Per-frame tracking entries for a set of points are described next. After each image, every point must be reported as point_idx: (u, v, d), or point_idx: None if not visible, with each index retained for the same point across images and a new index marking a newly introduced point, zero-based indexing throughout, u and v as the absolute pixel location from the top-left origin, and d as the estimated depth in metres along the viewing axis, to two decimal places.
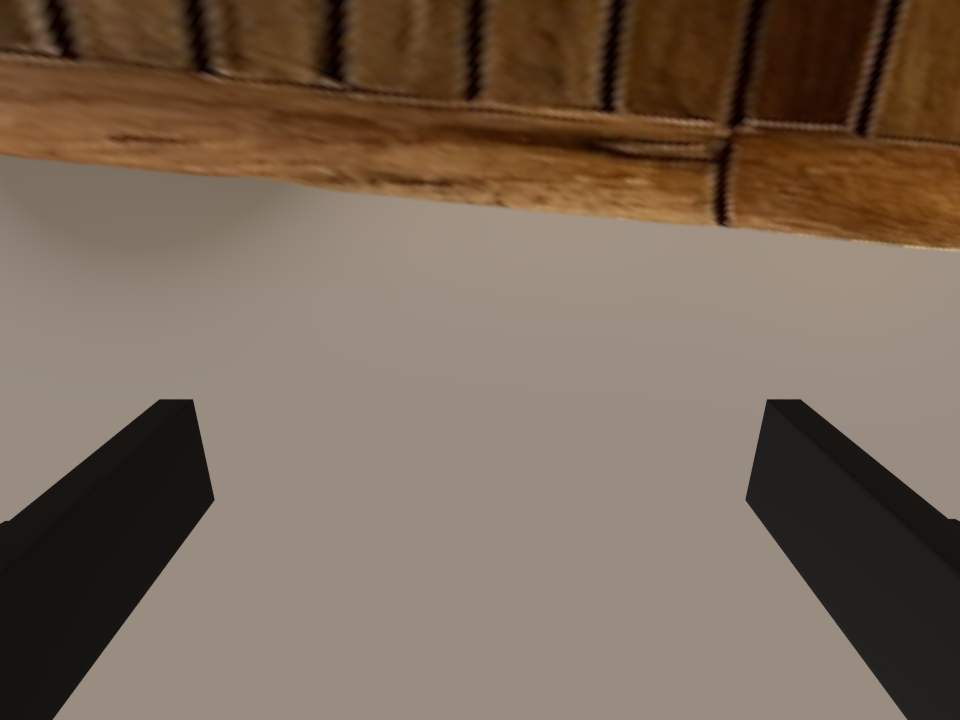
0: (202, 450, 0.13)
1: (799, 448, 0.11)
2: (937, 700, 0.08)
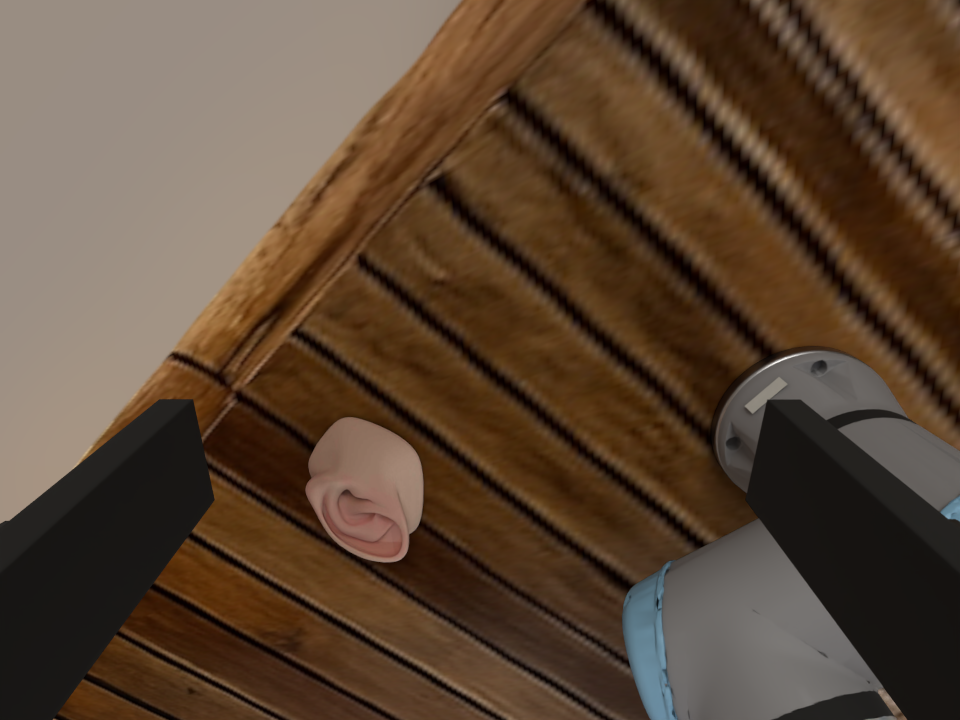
0: (201, 450, 0.13)
1: (799, 448, 0.11)
2: (937, 700, 0.08)
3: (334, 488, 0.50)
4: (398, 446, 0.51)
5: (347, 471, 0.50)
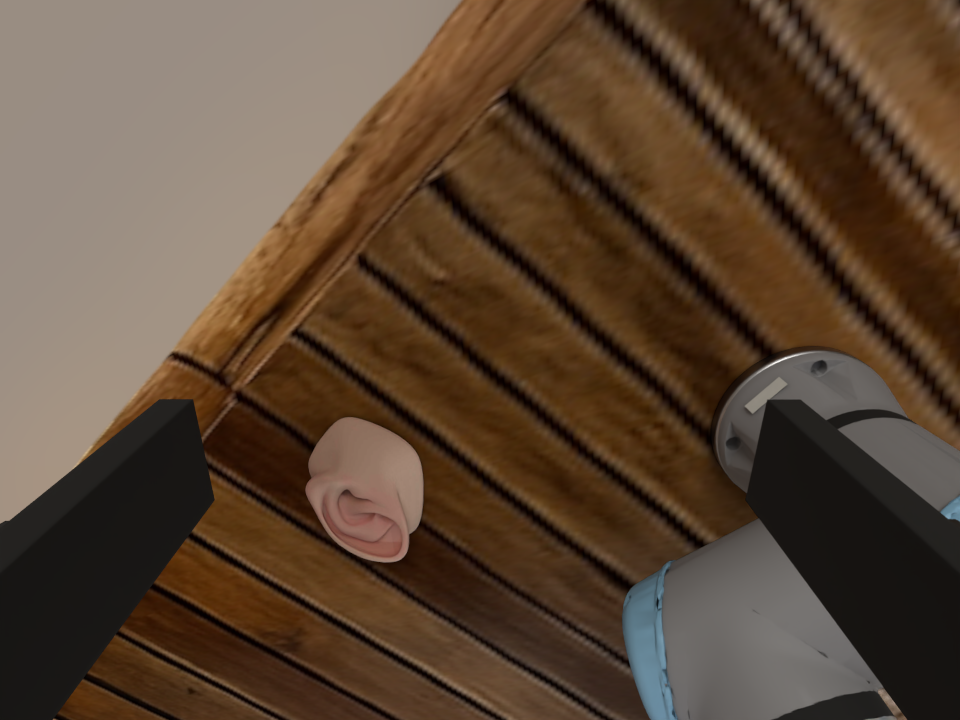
0: (201, 450, 0.13)
1: (799, 448, 0.11)
2: (937, 700, 0.08)
3: (334, 488, 0.50)
4: (398, 446, 0.51)
5: (347, 471, 0.50)
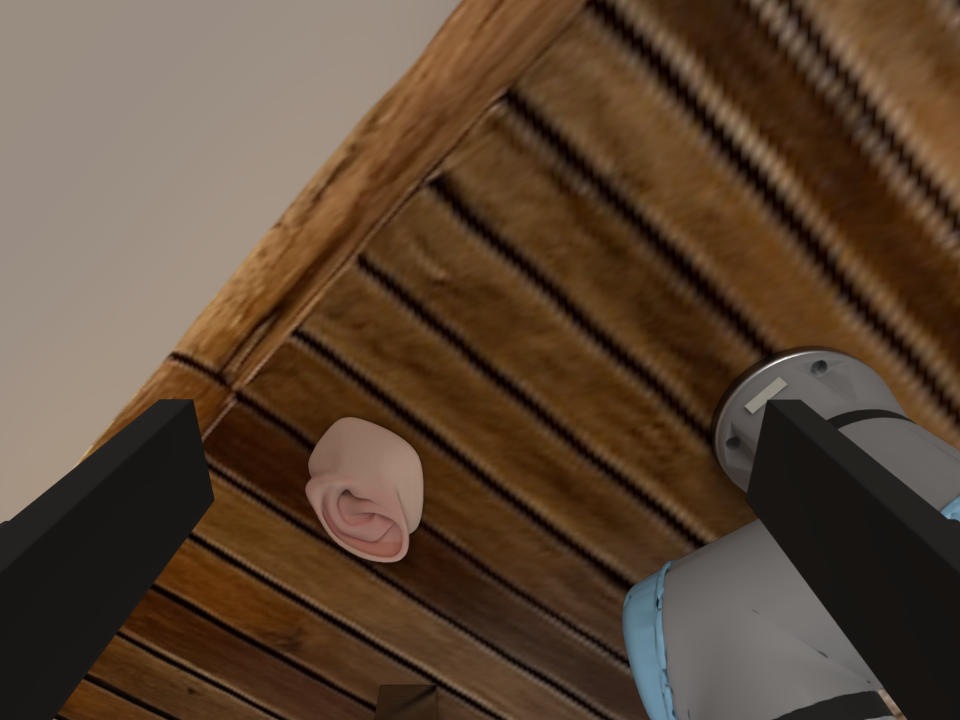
0: (201, 450, 0.13)
1: (799, 448, 0.11)
2: (937, 700, 0.08)
3: (334, 488, 0.50)
4: (398, 446, 0.51)
5: (347, 471, 0.50)
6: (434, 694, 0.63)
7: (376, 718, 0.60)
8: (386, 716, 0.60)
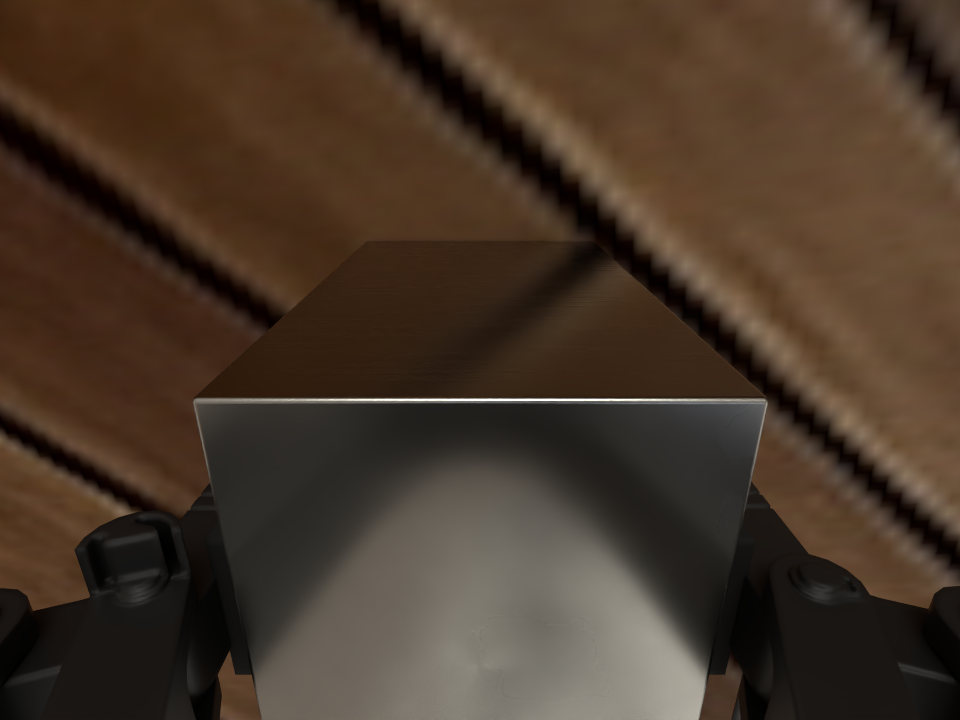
0: None
1: None
2: None
3: None
4: None
5: None
6: (597, 248, 0.15)
7: (341, 272, 0.12)
8: (390, 270, 0.12)
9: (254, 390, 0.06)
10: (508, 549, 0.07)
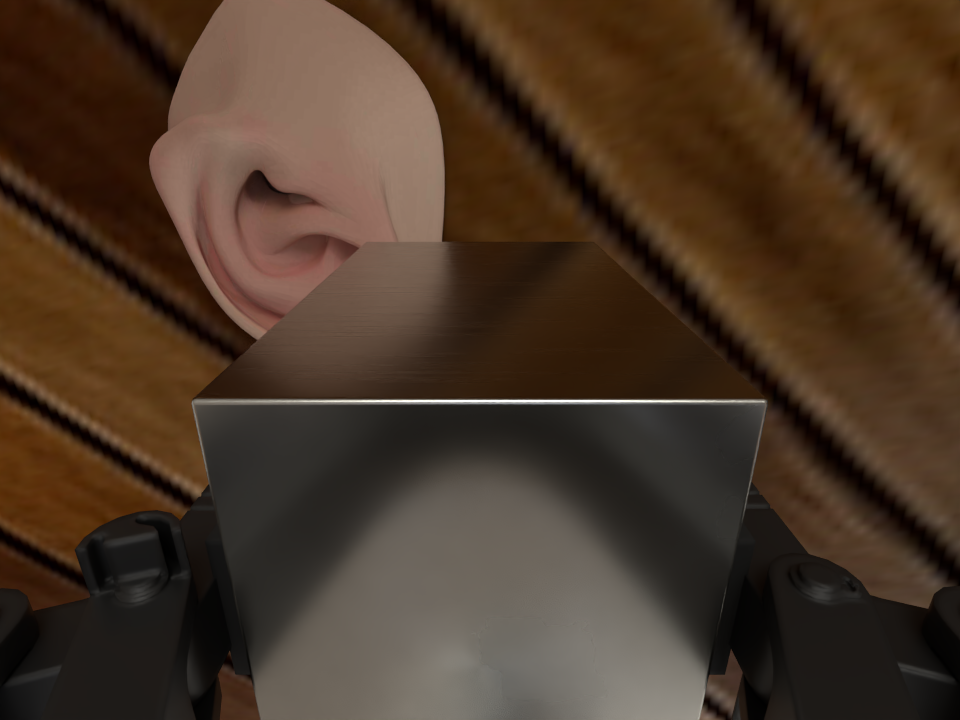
0: None
1: None
2: None
3: (223, 153, 0.19)
4: (389, 67, 0.20)
5: (256, 107, 0.19)
6: (597, 249, 0.14)
7: (340, 272, 0.12)
8: (389, 271, 0.12)
9: (252, 391, 0.06)
10: (508, 550, 0.07)
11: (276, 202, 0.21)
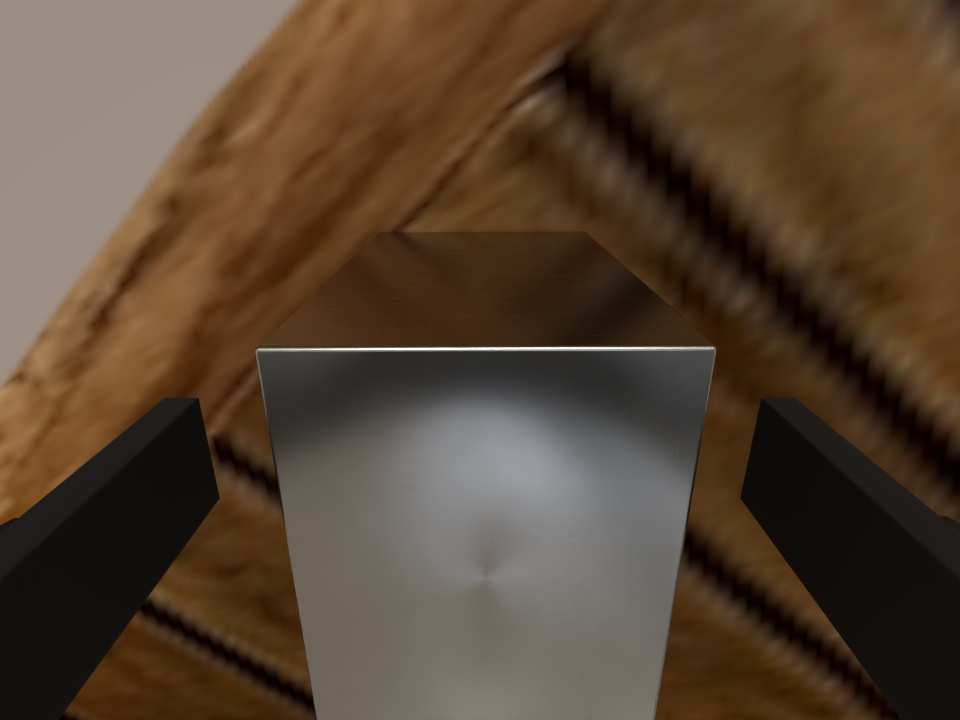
0: (206, 449, 0.13)
1: (793, 446, 0.11)
2: (927, 695, 0.08)
3: None
4: None
5: None
6: (588, 237, 0.16)
7: (359, 257, 0.13)
8: (402, 256, 0.14)
9: (303, 342, 0.08)
10: (509, 475, 0.08)
11: None
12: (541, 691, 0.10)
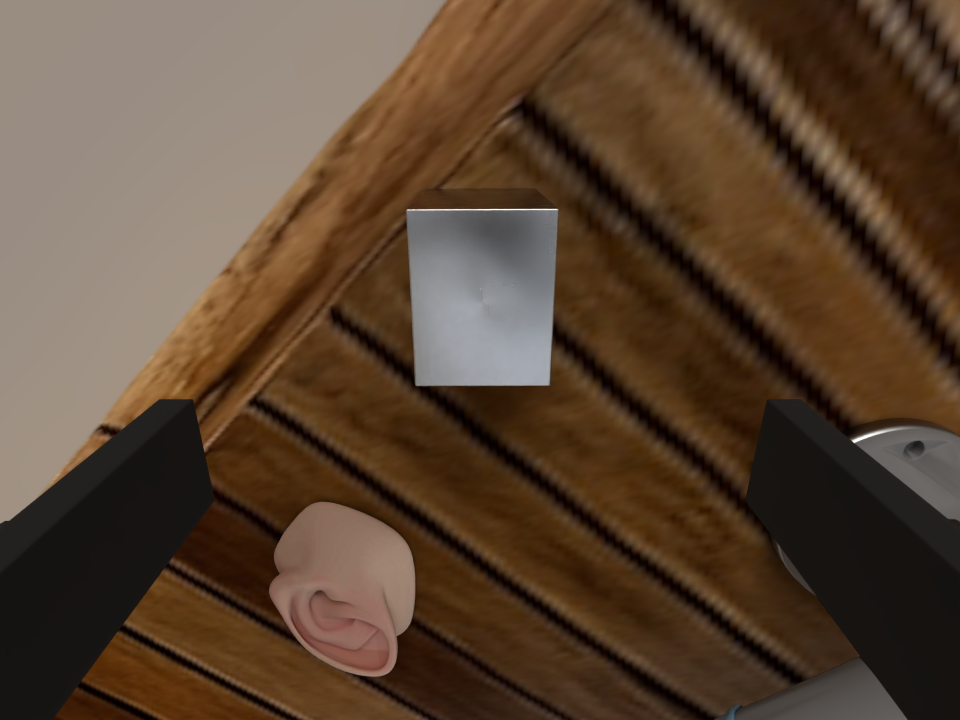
0: (201, 450, 0.13)
1: (799, 448, 0.11)
2: (937, 700, 0.08)
3: (305, 590, 0.40)
4: (384, 536, 0.41)
5: (320, 570, 0.40)
6: (535, 190, 0.32)
7: (425, 195, 0.29)
8: (444, 194, 0.29)
9: (421, 208, 0.24)
10: (490, 258, 0.24)
11: None
12: (504, 358, 0.26)
